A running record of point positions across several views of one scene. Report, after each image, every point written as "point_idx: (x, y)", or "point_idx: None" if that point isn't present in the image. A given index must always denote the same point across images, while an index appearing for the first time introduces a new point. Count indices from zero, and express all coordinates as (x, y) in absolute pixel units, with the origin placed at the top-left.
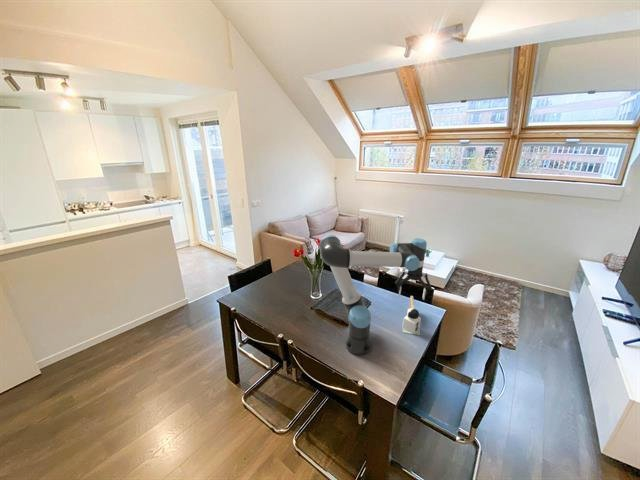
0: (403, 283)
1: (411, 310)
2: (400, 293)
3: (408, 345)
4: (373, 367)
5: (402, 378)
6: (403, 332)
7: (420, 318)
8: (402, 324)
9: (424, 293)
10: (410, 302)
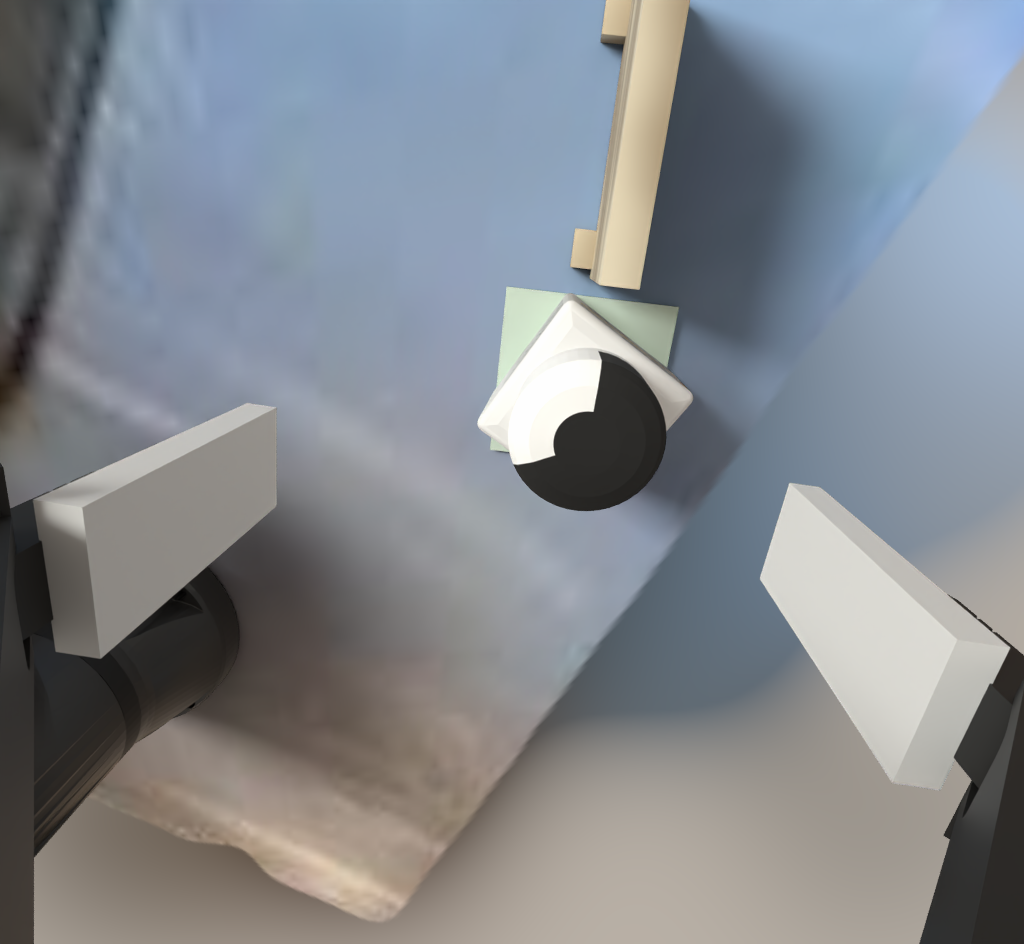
0: (27, 780)
1: (559, 440)
2: (238, 536)
3: (517, 590)
4: (271, 774)
5: (439, 830)
6: (497, 449)
7: (684, 408)
8: (502, 333)
9: (848, 694)
10: (637, 12)
